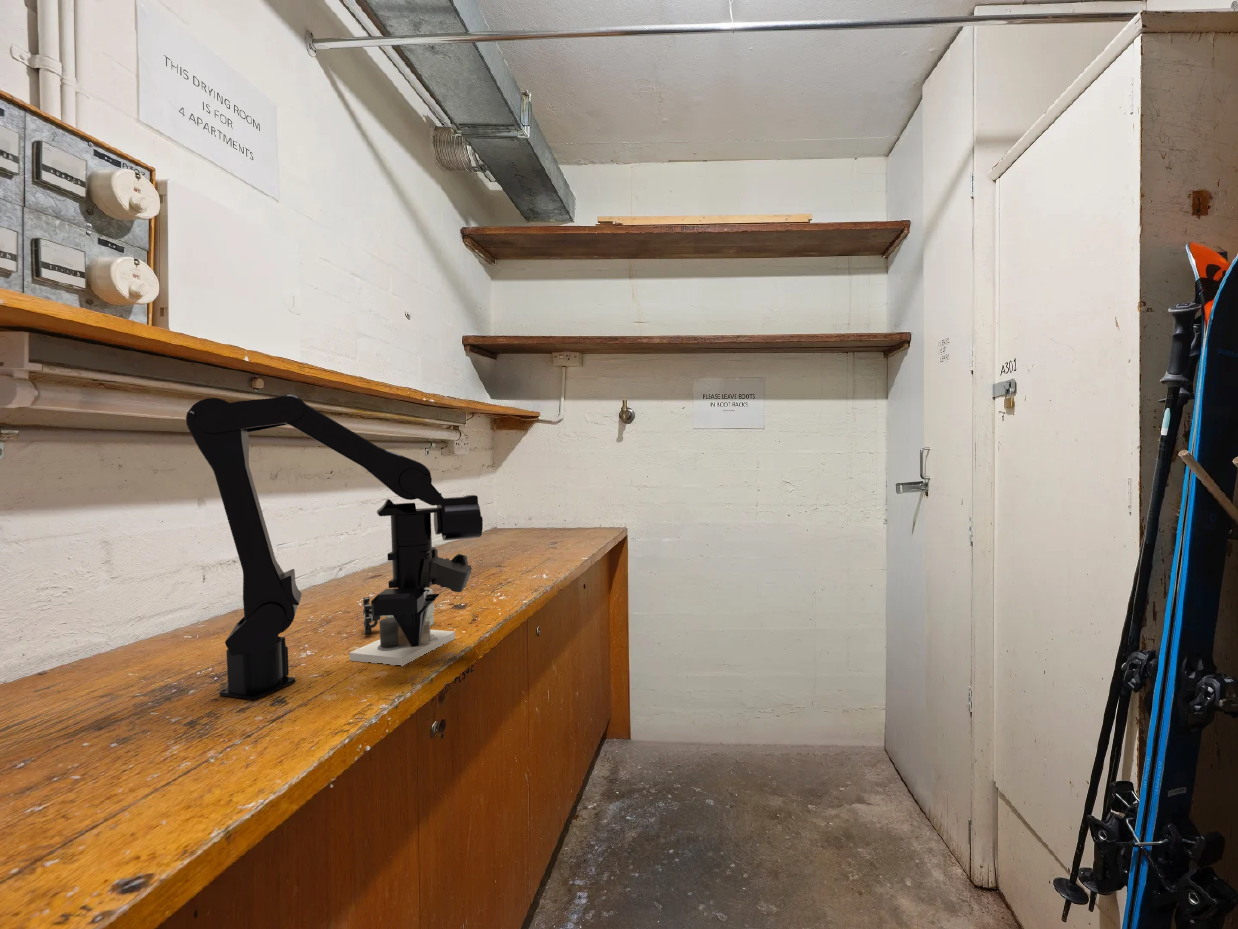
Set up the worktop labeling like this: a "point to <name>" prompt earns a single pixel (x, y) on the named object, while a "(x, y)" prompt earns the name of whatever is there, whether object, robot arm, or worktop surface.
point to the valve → (369, 617)
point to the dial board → (400, 650)
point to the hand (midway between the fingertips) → (415, 645)
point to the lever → (398, 633)
